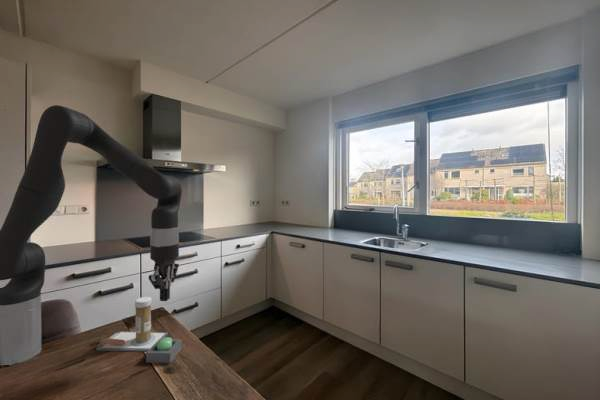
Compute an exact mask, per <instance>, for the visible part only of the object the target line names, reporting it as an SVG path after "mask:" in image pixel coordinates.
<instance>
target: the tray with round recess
mask: <svg viewBox="0 0 600 400" xmlns="http://www.w3.org/2000/svg"><path fill="white" fill-rule="evenodd" d="M168 334H169V332H167V331H166V332H165V331H164V332H163V331H151V339H150V340H148V341H146V342H144V343H137V342H136V341H135V340H136V331H127V330H126V331H124V330H123V331H122V330H121V331H120V330H119V331H118V332H115V333H113V334H112V335H111V336H110V337H109V338H110V339H120V340H124V341H125V343H124V345H122V346H120V345H110V344H101V345H99V346H98V347H97V348H95V349H96V351H108V352H109V351H113V352H145V353H146V352H147V351H148V350H149V349H150V348H151V347H152V346H153V345H154V344H155V343H156V342H157V341H158V340H159V339H162V338H165V337H167V335H168Z"/></svg>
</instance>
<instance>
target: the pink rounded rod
mask: <svg viewBox="0 0 600 400" xmlns="http://www.w3.org/2000/svg"><path fill="white" fill-rule="evenodd" d="M124 343H125V341H124V340H120V339H110V337H103V338H101V341H100V344H101V345H102V344H110V345H120V346H122V345H124Z"/></svg>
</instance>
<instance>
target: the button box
mask: <svg viewBox="0 0 600 400" xmlns="http://www.w3.org/2000/svg"><path fill="white" fill-rule="evenodd" d="M159 340H160V339H159ZM182 341H183V340H182V339H180V338H178V339H177V338H175V339H174V338H172V347H171V348H170V349H169V350H168V351H160V350H157V342H158V341H157V342H156V343H155V344H154V345H153V346H152V347H151V348H150V349H149V350H148V351H147V352H146V351H145V363H147V364H149V363H153V364H154V363H157V364H171V363H172V362H173V361H174V359H176V356H178V354H179V353H180V352H181V350H182V348H183V347H182V345H183V343H182Z"/></svg>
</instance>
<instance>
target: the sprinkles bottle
mask: <svg viewBox="0 0 600 400" xmlns="http://www.w3.org/2000/svg"><path fill="white" fill-rule="evenodd" d="M134 308H135V332H136V340H135V341H136V342H137V343H144V342H146V341H148V340H150V339H151V332H152V312H151V311H152V310H151V309H152V297H150V296H142V297H139V298H137V299H135V302H134Z"/></svg>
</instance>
